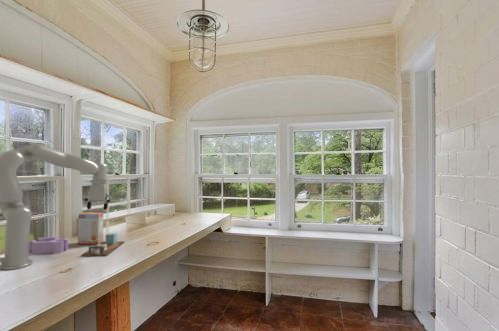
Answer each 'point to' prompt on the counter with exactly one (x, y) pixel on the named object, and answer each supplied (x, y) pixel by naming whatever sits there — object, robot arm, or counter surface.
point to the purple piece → (48, 245)
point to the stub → (111, 238)
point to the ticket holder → (102, 249)
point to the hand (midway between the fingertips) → (97, 209)
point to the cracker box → (90, 228)
